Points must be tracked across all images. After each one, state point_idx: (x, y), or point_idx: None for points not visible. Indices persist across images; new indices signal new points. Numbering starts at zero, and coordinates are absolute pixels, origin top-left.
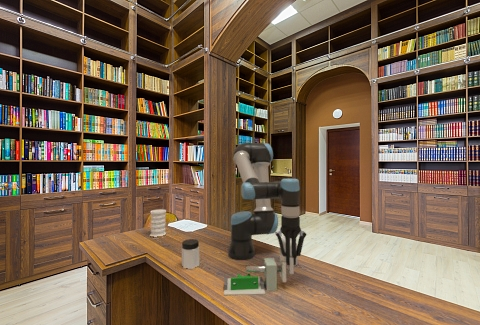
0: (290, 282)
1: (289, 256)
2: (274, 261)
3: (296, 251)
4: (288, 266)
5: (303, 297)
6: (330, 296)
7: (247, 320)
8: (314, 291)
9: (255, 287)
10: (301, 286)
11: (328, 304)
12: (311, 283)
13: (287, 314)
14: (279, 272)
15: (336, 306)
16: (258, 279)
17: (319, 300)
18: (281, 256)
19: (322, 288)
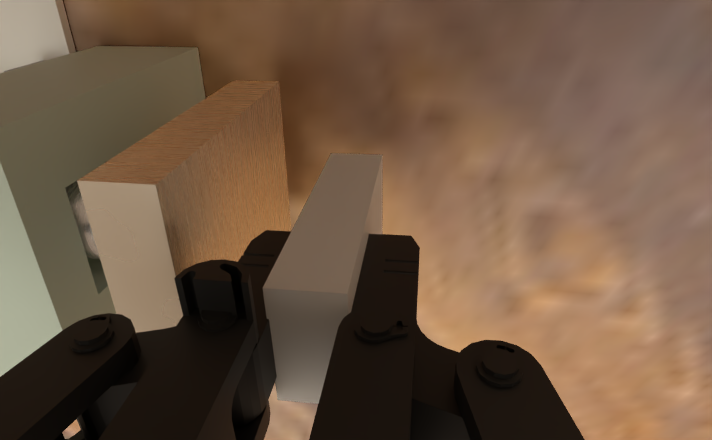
0: (384, 80)
1: (259, 420)
2: (34, 274)
3: (465, 419)
4: (317, 186)
5: (427, 317)
6: (669, 332)
7: (64, 434)
8: (568, 256)
9: None
10: (478, 167)
11: (579, 402)
12: (626, 117)
13: (270, 432)
14: (222, 87)
15: (624, 424)
16: (23, 16)
17: (538, 360)
18: (126, 210)
19: (686, 219)
